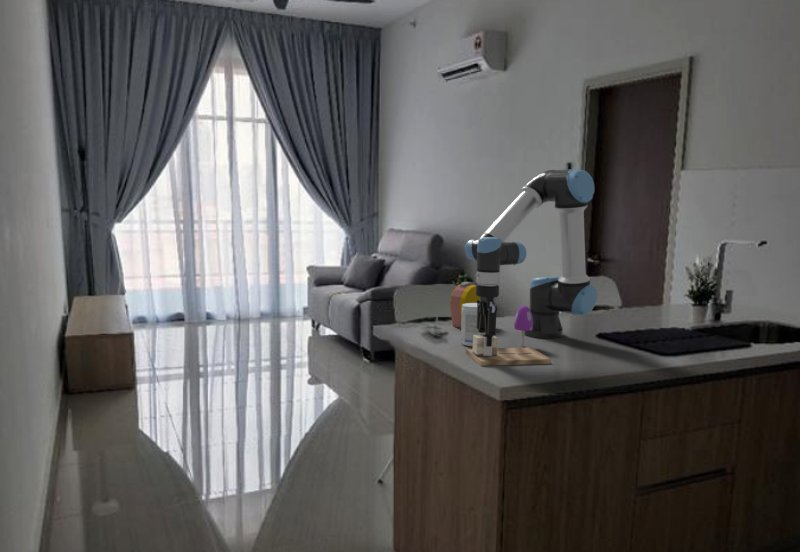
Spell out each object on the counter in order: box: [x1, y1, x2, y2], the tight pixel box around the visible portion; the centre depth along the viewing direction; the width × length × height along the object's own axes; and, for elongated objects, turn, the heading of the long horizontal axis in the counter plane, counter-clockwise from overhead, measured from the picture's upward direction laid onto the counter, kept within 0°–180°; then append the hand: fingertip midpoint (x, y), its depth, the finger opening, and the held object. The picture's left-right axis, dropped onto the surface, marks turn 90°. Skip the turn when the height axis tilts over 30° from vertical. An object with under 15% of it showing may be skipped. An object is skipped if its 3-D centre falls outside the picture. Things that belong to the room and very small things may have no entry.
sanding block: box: [471, 335, 498, 356], centre depth 210 cm, size 7×4×6 cm, turn 101°
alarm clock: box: [449, 281, 481, 329], centre depth 264 cm, size 15×8×18 cm, turn 133°
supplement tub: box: [460, 303, 480, 348], centre depth 231 cm, size 10×10×15 cm
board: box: [465, 347, 552, 367], centre depth 212 cm, size 24×16×2 cm, turn 101°
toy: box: [513, 305, 533, 348], centre depth 229 cm, size 7×7×15 cm
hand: (484, 353), depth 210 cm, fingers closed on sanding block, 4 cm apart
